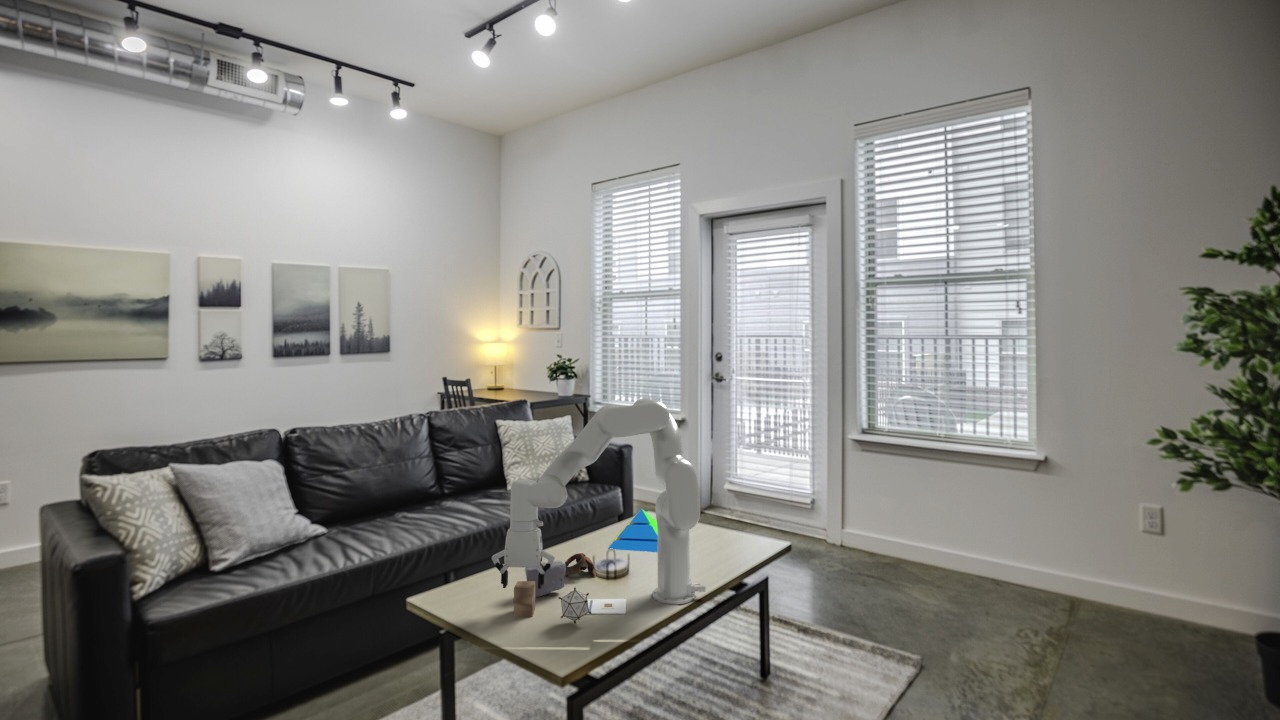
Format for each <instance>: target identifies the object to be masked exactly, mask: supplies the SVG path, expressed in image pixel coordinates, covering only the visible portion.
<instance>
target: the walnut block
mask: <svg viewBox="0 0 1280 720" xmlns="http://www.w3.org/2000/svg"><path fill="white" fill-rule="evenodd" d="M535 611H536V597H535V581H527V580H524V581H519V580H518V581H516V583H515V585H514V587H513V617H514V618H532V617H534V614H535Z"/></svg>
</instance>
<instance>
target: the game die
mask: <svg viewBox="0 0 1280 720" xmlns="http://www.w3.org/2000/svg"><path fill="white" fill-rule="evenodd" d="M589 594H590V593H589V592H587V593H586V594H585V593H583V592H581V591H578V590H577V588H576V586H574V587H573V590H572V591H571V590H570V592H569V593H567V594H566V595H564V596H563V597H560V596H558V597H557V599H559V600H560V604H561V612H562V615H561V616H560V619H563V617H564V618H566V619H569V620H571V621H573V624H577V622H576V621H580V620H581V618H582V617H584V616H586V615H588V614H587V613H590V614H589V615H593V614H592V613H591V612H589V608H588V600H587V599H588V596H589Z"/></svg>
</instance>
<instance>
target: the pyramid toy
mask: <svg viewBox="0 0 1280 720" xmlns="http://www.w3.org/2000/svg"><path fill="white" fill-rule="evenodd" d="M657 544H658V534H657V521H656V518H655V519H654V517H653V516H651V515H650V514H649V513H648V512H646V511H645V510H644V509H643V508H641V509H639V511H638V512H637V513H636V514H635V515H633V516H632V518H631V519H630V520H629V521H628V522H627V523H626V524H625V525H624V527H622V528H621V530H620V531H618V533H617V534H616V536H615V537H614V538H613V540H612V542H611V543H610V545H609V546H608V547H607V550H611V549H610V548H613V549H612V550H615V549H616V551H633V552H645V551H647V553H649V552H650V553H658V548H657Z"/></svg>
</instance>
